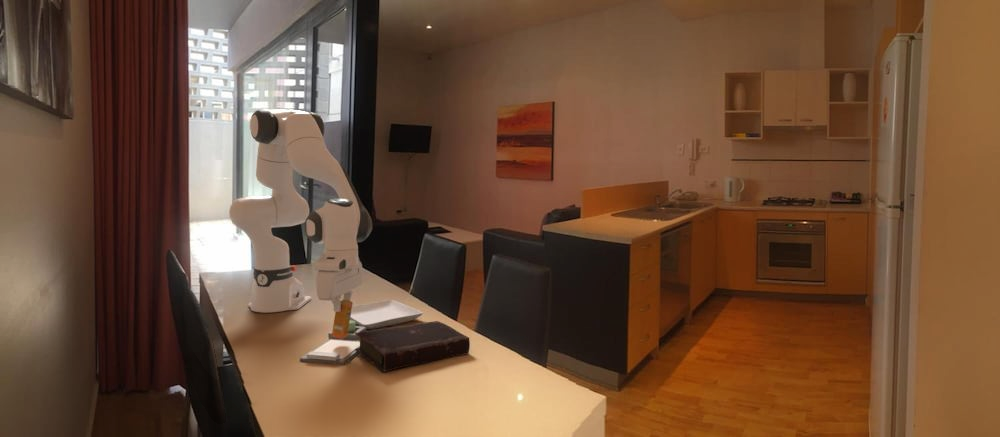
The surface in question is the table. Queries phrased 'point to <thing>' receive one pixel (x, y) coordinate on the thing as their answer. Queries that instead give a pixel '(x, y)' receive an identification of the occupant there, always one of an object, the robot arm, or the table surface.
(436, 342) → the diary
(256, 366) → the table surface
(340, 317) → the supplement box
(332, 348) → the clipboard
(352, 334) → the button bezel
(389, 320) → the salad plate
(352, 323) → the button
